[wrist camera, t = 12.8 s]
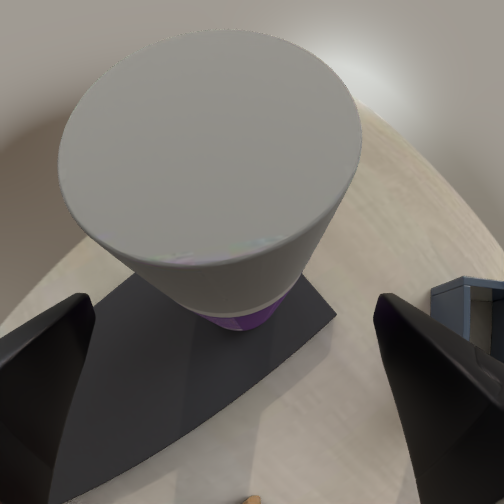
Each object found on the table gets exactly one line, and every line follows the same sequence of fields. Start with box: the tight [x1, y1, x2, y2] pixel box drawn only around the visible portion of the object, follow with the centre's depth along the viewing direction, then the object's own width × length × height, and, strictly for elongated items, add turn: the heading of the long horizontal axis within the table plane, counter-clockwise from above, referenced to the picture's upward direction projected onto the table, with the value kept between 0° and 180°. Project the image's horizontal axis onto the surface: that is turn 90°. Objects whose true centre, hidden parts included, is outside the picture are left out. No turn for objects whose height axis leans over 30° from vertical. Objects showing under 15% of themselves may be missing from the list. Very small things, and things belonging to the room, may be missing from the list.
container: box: [58, 29, 362, 331], centre depth 11 cm, size 5×5×15 cm
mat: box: [48, 273, 337, 504], centre depth 16 cm, size 29×10×1 cm, turn 129°
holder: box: [431, 276, 504, 364], centre depth 16 cm, size 7×7×4 cm
